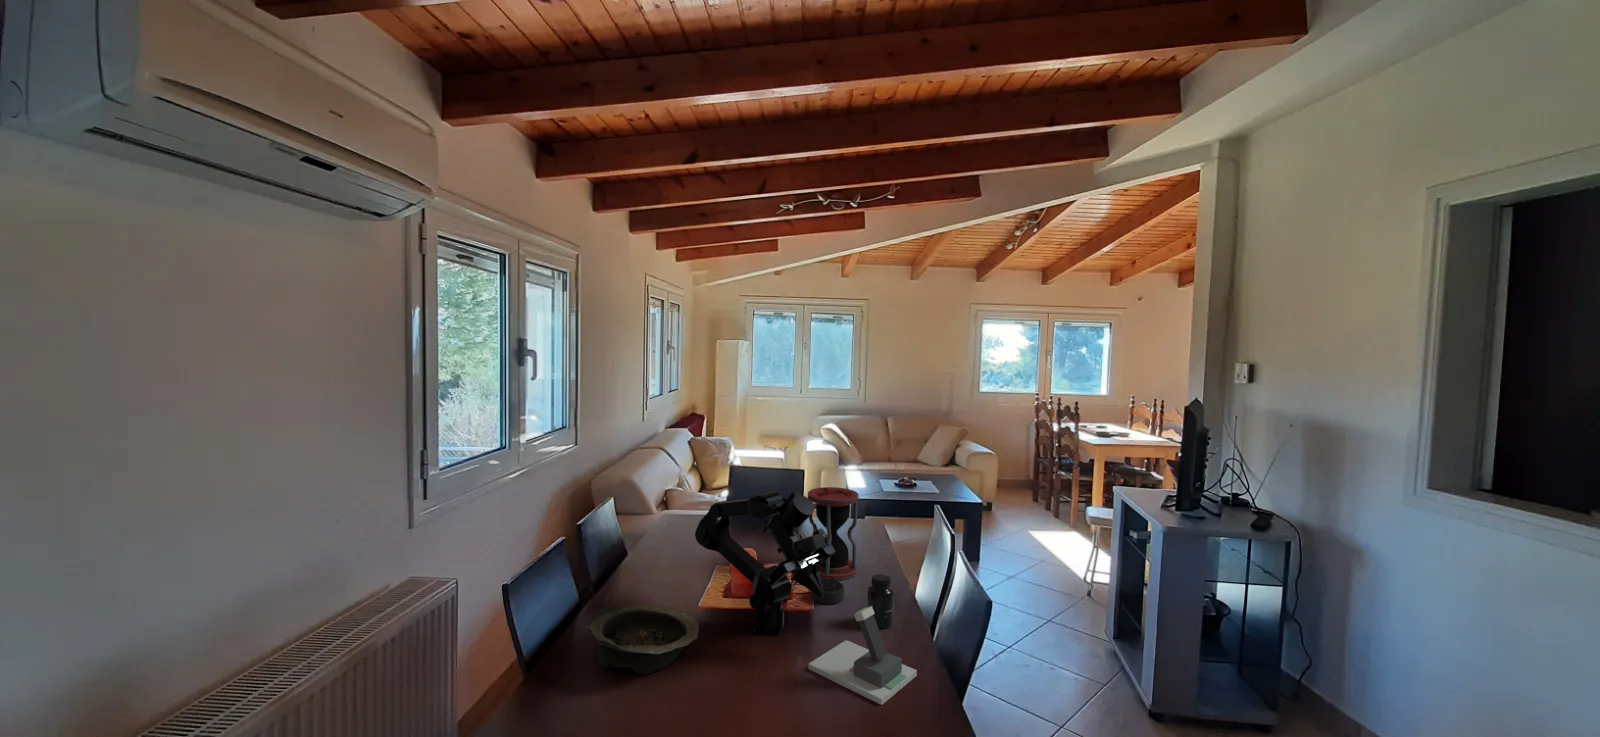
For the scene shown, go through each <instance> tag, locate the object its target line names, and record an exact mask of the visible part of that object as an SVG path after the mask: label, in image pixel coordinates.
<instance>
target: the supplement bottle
mask: <svg viewBox="0 0 1600 737" xmlns="http://www.w3.org/2000/svg"><path fill="white" fill-rule="evenodd" d="M870 584H871V585H870V586H869V587H868V589H867V596H866V598H867V599H866V608H867V607H871V606H872V608H873V611H874V613H875V614H873V615H874V618H875V621H876V623H877V626H878V629H879V630H880V629H881V630H884V629H889V628H890V627H892V626H893V624H894V623H893V622H894V608H895V607H894V603H895V601H894V600H895V592H894V589H893V588H892V587H891V586H892V584H891V577H890V576H889V575H886V574H882V573H881V574H880V573H879V574H878V573H877V574H873V575H872V576H871V582H870Z"/></svg>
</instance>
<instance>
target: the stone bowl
mask: <svg viewBox="0 0 1600 737" xmlns="http://www.w3.org/2000/svg"><path fill="white" fill-rule="evenodd" d="M583 629H585V630H587V631H588V632H590V633H591V634H592V636H593V639H594V640H595V642H596V643H597V644H598V645H599V647H598V660H599V663H600V665H601V666H602V667H603V668H605V669H613V668H614V669H615V668H631V669H632V670H633V671H634V672H635V673H636V674H637V675H648V674H647V673H650V674H652V673H654V672H656V671H661V670H663V669H665V668H666V667H667V666H669V664H671V663H672V662H673V661H675V659H677V657H679V654H680V652H681V651H682V649H683V648H684V647H686V646H689V645H690V643H692V642H694V641H695V640H697V639H698V637H699V635H698V634H699V630H700V625H699V623H698V621H697V619H696V618H695V617H694V616H691V615H688V613H687V612H684V611H682V610H678V609H676V608H672V607H670V608H669V607H665V606H662V605H651V604H650V605H649V604H642V605H641V604H640V605H637V606H630V607H629V606H628V607H625V608H621V607H618V606H615V605H613V606H605V607H604V608H602V609H600V610H598V611H597V613H596V615H595V616H594V617H593V618H592V621H591V623H590V624H589V623H588V624H587V625H584V627H583ZM660 669H661V670H660Z"/></svg>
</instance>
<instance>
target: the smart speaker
mask: <svg viewBox="0 0 1600 737" xmlns="http://www.w3.org/2000/svg"><path fill="white" fill-rule="evenodd" d="M821 581H822V585H823V589H824V595H823V596H822V597H819V596H817V595H816V594H815V593H813V592H812V597H814V598H813V599H814V600H815V601H816V602H818V603H821V604H824V605H825V604H826V605H833V604H838V603H840V602H842V601H843V600H844V598H845V587H844V585H843V584H842V582H840V581H839V580H838V581H835V580H823V579H821Z"/></svg>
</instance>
